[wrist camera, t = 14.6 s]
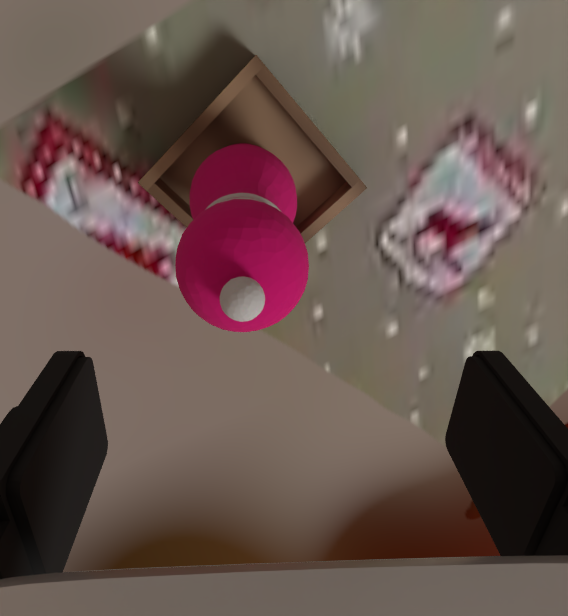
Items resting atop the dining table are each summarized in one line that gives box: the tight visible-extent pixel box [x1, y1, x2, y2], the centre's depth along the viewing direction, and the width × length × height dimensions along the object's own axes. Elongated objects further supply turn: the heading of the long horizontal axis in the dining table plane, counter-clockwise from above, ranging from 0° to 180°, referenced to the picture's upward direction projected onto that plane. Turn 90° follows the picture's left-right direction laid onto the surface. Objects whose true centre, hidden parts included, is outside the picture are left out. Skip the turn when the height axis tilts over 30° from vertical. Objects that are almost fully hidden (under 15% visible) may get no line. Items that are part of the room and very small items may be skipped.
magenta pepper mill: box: [176, 143, 309, 332], centre depth 26 cm, size 7×7×20 cm
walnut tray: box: [138, 55, 367, 243], centre depth 34 cm, size 12×12×3 cm
